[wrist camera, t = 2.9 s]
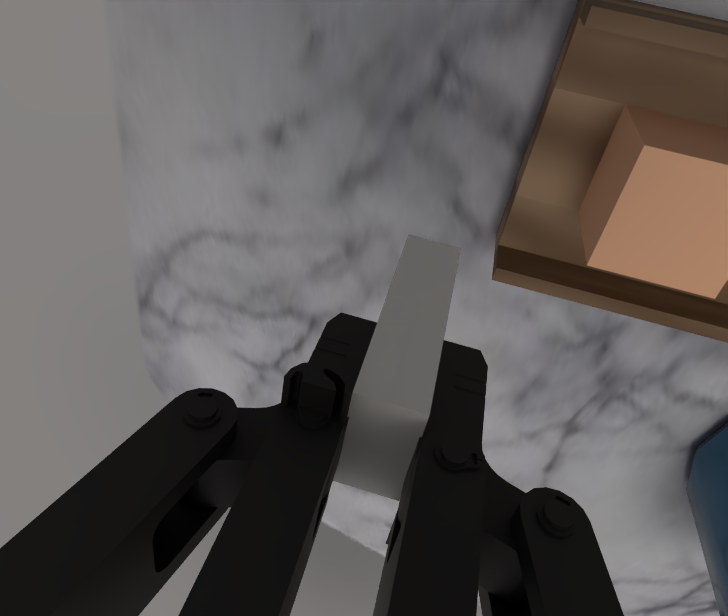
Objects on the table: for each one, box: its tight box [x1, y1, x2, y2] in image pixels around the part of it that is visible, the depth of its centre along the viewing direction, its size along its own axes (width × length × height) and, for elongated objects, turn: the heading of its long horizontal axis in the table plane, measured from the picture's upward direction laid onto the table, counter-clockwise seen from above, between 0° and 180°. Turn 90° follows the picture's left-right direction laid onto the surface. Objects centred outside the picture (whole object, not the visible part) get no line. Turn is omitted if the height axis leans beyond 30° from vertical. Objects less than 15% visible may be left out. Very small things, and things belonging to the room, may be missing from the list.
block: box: [578, 104, 728, 299], centre depth 25 cm, size 6×6×6 cm
